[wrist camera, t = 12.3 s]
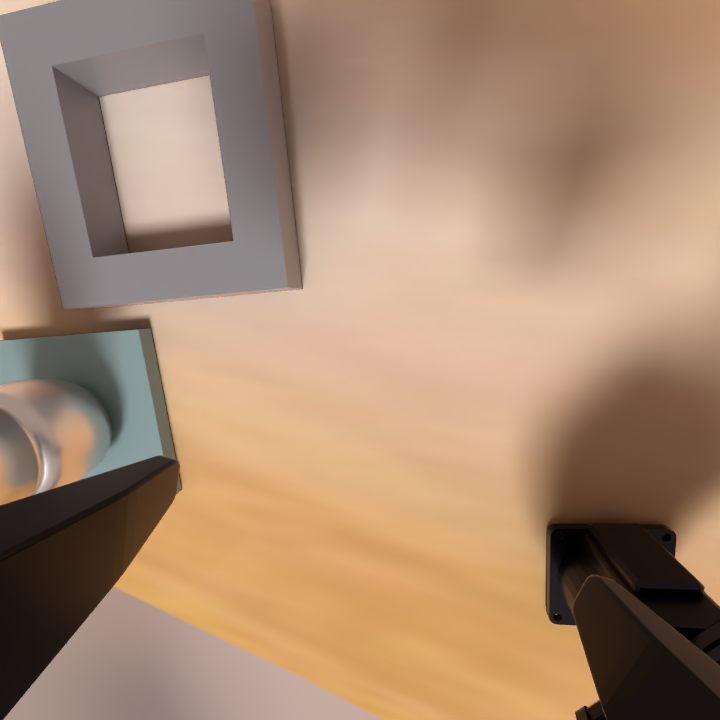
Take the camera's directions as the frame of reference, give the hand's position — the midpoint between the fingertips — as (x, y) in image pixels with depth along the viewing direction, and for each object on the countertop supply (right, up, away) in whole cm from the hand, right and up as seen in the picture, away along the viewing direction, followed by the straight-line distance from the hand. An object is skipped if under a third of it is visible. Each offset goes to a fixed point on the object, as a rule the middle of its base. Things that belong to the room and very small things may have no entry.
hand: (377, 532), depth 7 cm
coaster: (-18, 0, +15) cm, 24 cm away
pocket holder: (-11, +14, +12) cm, 21 cm away
